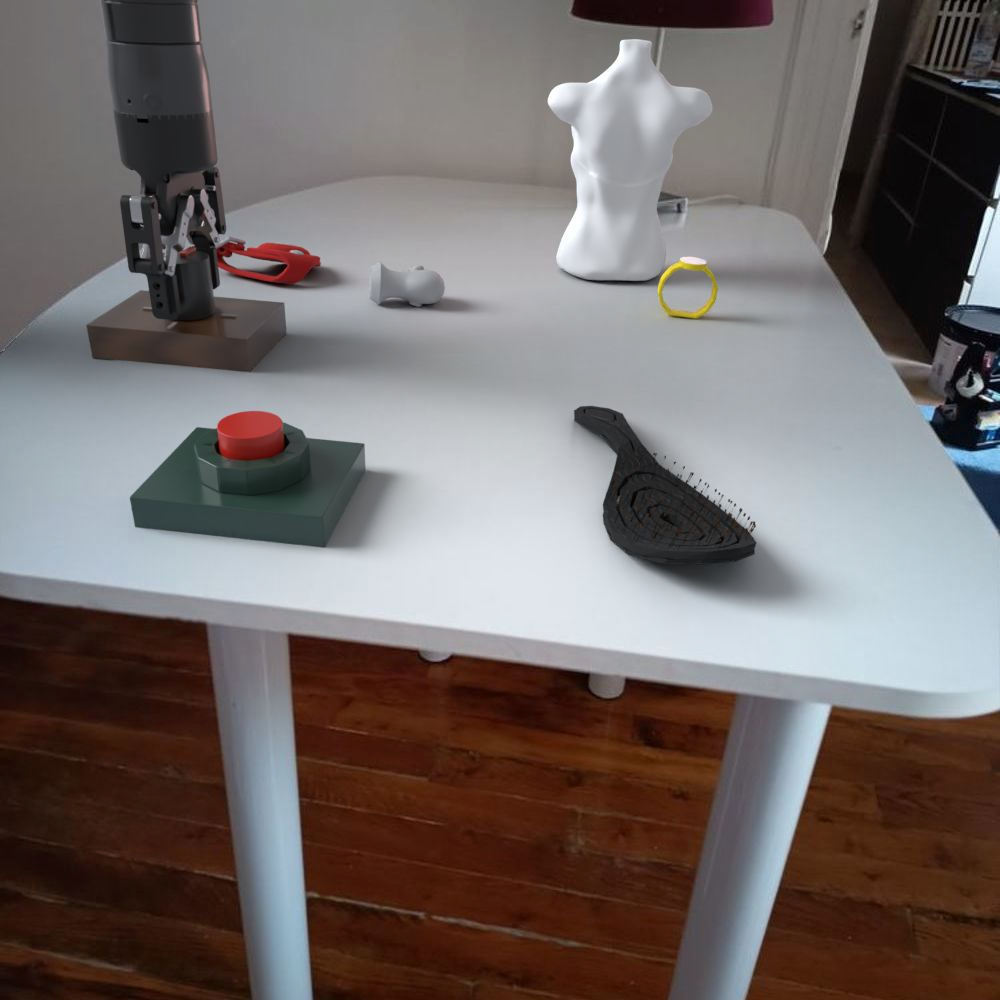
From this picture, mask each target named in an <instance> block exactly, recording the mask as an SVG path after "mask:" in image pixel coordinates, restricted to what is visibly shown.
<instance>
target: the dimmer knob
mask: <svg viewBox="0 0 1000 1000" xmlns="http://www.w3.org/2000/svg"><path fill="white" fill-rule="evenodd" d="M164 257H165V252H164V251H163V259H164ZM174 275H176V278H177V286H178V293H179V301H180V308H181V315H180V316H179V317H178V318H177V319H175V320H181V321H191V320H199V319H204V318H207V317H210V316H212V315H213V314H214V313H215V303H214V297H215V295H214V290H213V285H212V277H211V268H210V259H209V255H208V254H207V253H204V252H201V251H196V247H192V246H188V247H187V248H184V249H183V250H182V251H180V252H178V255H177V261H176V267H175V273H174Z"/></svg>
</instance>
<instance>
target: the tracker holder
mask: <svg viewBox="0 0 1000 1000" xmlns="http://www.w3.org/2000/svg"><path fill="white" fill-rule="evenodd" d="M246 244H247V243H246V240H243V239H240V238H238V237H237V238H236V237H233V236H227V237H225V238H223V239H222V240H220V241H219V245H218V247H215V248H216V251H217V260H218V269H221V270H224V271H225V272H228V273H230V274H233V275H237V276H241V277H246V278H249V279H254V280H255V279H256V280H259V281H264V282H270V283H277V284H278V283H279V284H284V285H294V284H297V283H300V282H301V281H302V280H303V279H304V278H305V277H306V276H307V274H308V273H309V272H310V270H311V269H313V268H314V267H320V266H321V265H322V262H321V257H320V256H319V255H315V254H314V255H313V254H311V252H310V251H308V249H306V248H305V247H302V246H299V245H296V244H292V243H288V242H287V243H286V242H278V241H277V242H264V243H261V244H259V245H258V246H257V247H247V248H246V246H245V245H246ZM245 248H246V249H245ZM233 254H235V255H238V256H243V257H248V258H251V259H254V260H262V261H268V262H275V263H280V264H281V263H282V264H285V265H287V266H286V268H285V269H284V270H283V271H282V272H280V273H279V274H278V275H276V276H274V275H269V274H264V273H259V272H254V271H249V270H245V269H242V268H241V269H240V268H237V267H235V266H233V265H231V264H229V263H228V262H227V261H225V258H226V259H227V258H228V259H229V258H231V257H232V256H233ZM224 257H225V258H224Z"/></svg>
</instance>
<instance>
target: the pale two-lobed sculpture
mask: <svg viewBox="0 0 1000 1000" xmlns="http://www.w3.org/2000/svg"><path fill="white" fill-rule="evenodd" d="M368 279H369V280H368V296H369V297H368V298H369V300H371V301H372V302H374V303H375V304H376V305H380V304H381V303H383V301H386V300H387V299H391V298H392V299H393V298H395V299H401V300H403V301H406V302H408V303H409V305H411V306H414V307H417V308H421V307H422V305H433V304H435V303H438V302H439V301H440V300H441V299H442V298H443V296H444V294H445V290H446V286H445V285H446V284H445V280H444V278H443V277H442V275H441V274H440V273H438V272H437V271H434V270H430V269H425V267H424V265H413V266H411V267H410V268H407V269H403V270H400V271H398V270H392V269H389V268H388V267H386V266H385V264H384V263H383V262H382V261H379V262H377V263H374V264H373V265H371V266H370V270H369V277H368Z"/></svg>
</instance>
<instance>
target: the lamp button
mask: <svg viewBox="0 0 1000 1000" xmlns="http://www.w3.org/2000/svg"><path fill="white" fill-rule="evenodd" d="M283 422H284V421H283V420H282V418H281V417H280V416H279V415H277V414H275V413H272V412H269V411H268V412H267V411H261V410H245V411H239V412H234V413H231V414H228V415H227V416H224V417H223V418H221V419H220V420H219V421H218V422H217V425H216V428H217V432H218V440H219V448H220V453H221V455H222V456H224V457H226V458H228V459H234V460H244V461H251V460H258V459H265V458H270V457H272V456H275V455H277V454H279V453H281V452H283V450H284V448H285V445H284V432H283Z"/></svg>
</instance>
